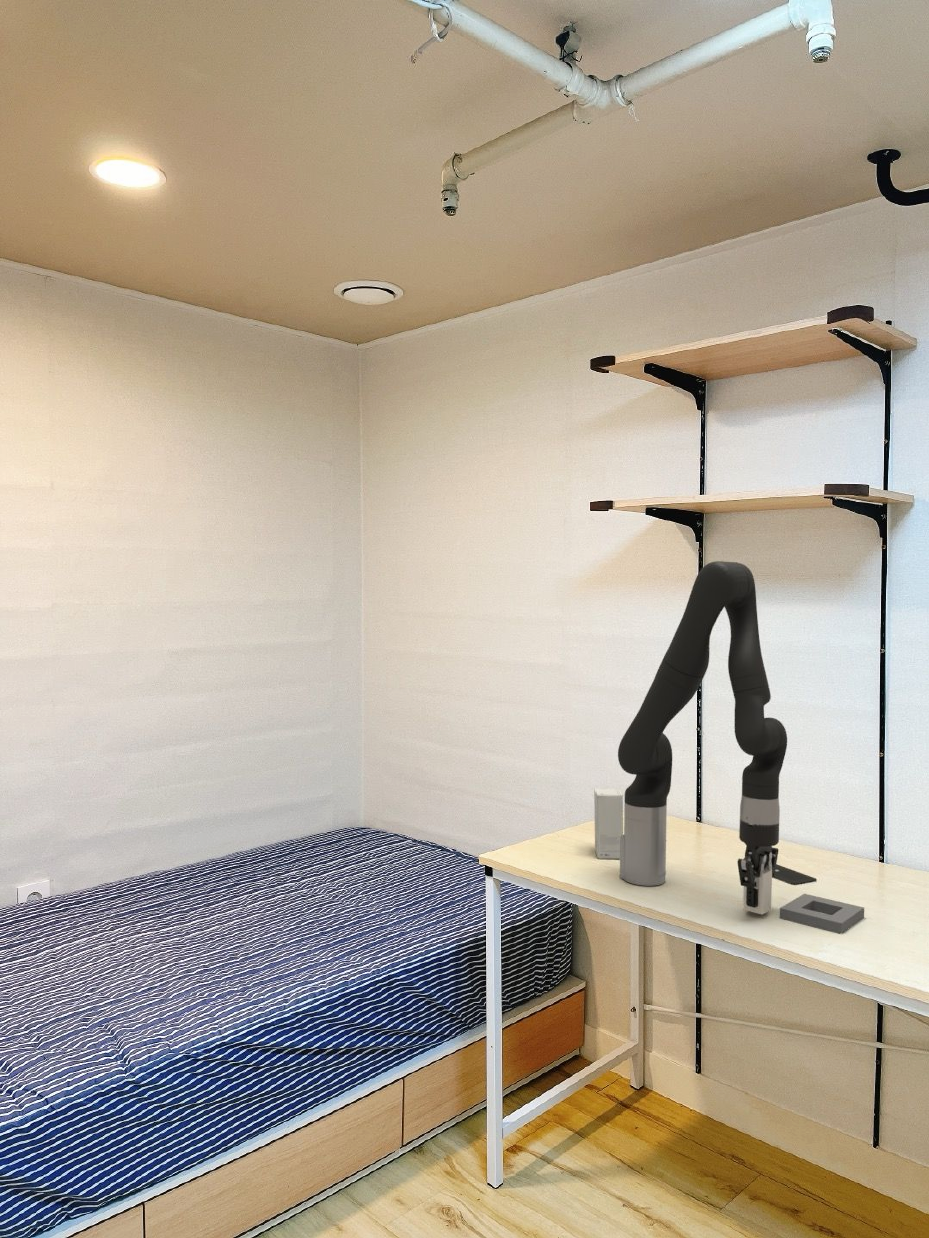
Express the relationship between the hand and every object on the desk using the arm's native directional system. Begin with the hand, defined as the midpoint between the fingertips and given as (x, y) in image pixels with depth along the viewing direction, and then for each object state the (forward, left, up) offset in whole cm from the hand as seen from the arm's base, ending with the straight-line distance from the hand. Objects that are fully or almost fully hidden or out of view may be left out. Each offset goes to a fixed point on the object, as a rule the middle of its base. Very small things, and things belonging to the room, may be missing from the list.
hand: (757, 903), depth 181 cm
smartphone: (-8, +29, -3) cm, 30 cm away
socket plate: (+10, +7, -2) cm, 13 cm away
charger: (0, 0, -1) cm, 1 cm away
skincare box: (-45, +14, -2) cm, 47 cm away
